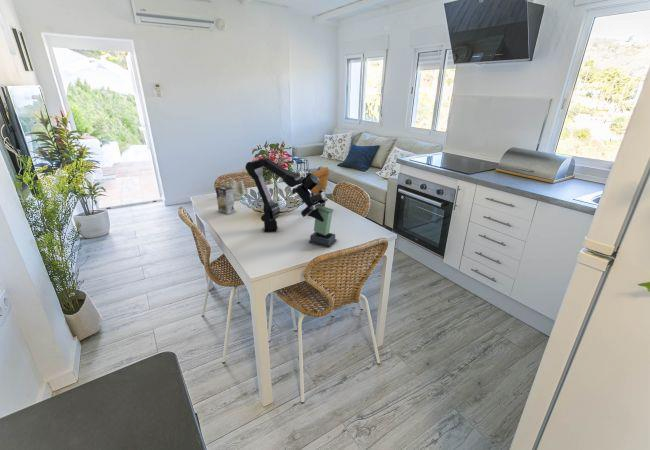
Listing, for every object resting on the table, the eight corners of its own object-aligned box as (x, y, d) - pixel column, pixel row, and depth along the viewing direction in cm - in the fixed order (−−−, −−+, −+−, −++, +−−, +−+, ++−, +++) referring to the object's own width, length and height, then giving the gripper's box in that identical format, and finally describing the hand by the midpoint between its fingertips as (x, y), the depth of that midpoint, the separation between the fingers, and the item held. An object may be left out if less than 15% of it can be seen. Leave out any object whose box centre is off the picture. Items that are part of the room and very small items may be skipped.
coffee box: (218, 211, 201) (214, 187, 195) (225, 208, 206) (223, 185, 200) (228, 214, 197) (225, 189, 190) (235, 211, 202) (233, 187, 195)
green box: (313, 231, 160) (316, 207, 155) (317, 228, 164) (320, 205, 159) (325, 235, 157) (328, 211, 152) (329, 233, 161) (333, 209, 156)
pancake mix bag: (331, 209, 208) (332, 167, 196) (311, 216, 194) (311, 172, 183) (323, 206, 212) (324, 165, 200) (303, 214, 198) (303, 170, 187)
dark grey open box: (309, 242, 162) (308, 235, 160) (316, 236, 168) (316, 229, 167) (329, 247, 157) (329, 240, 155) (336, 241, 164) (336, 234, 162)
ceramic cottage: (251, 197, 227) (248, 177, 221) (228, 202, 219) (224, 181, 214) (244, 193, 239) (241, 173, 234) (223, 197, 232) (219, 177, 226)
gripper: (306, 190, 145) (327, 217, 145) (324, 181, 160) (343, 205, 160) (292, 204, 151) (312, 229, 151) (311, 193, 167) (329, 216, 166)
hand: (325, 219), depth 157 cm, fingers closed on green box, 4 cm apart
